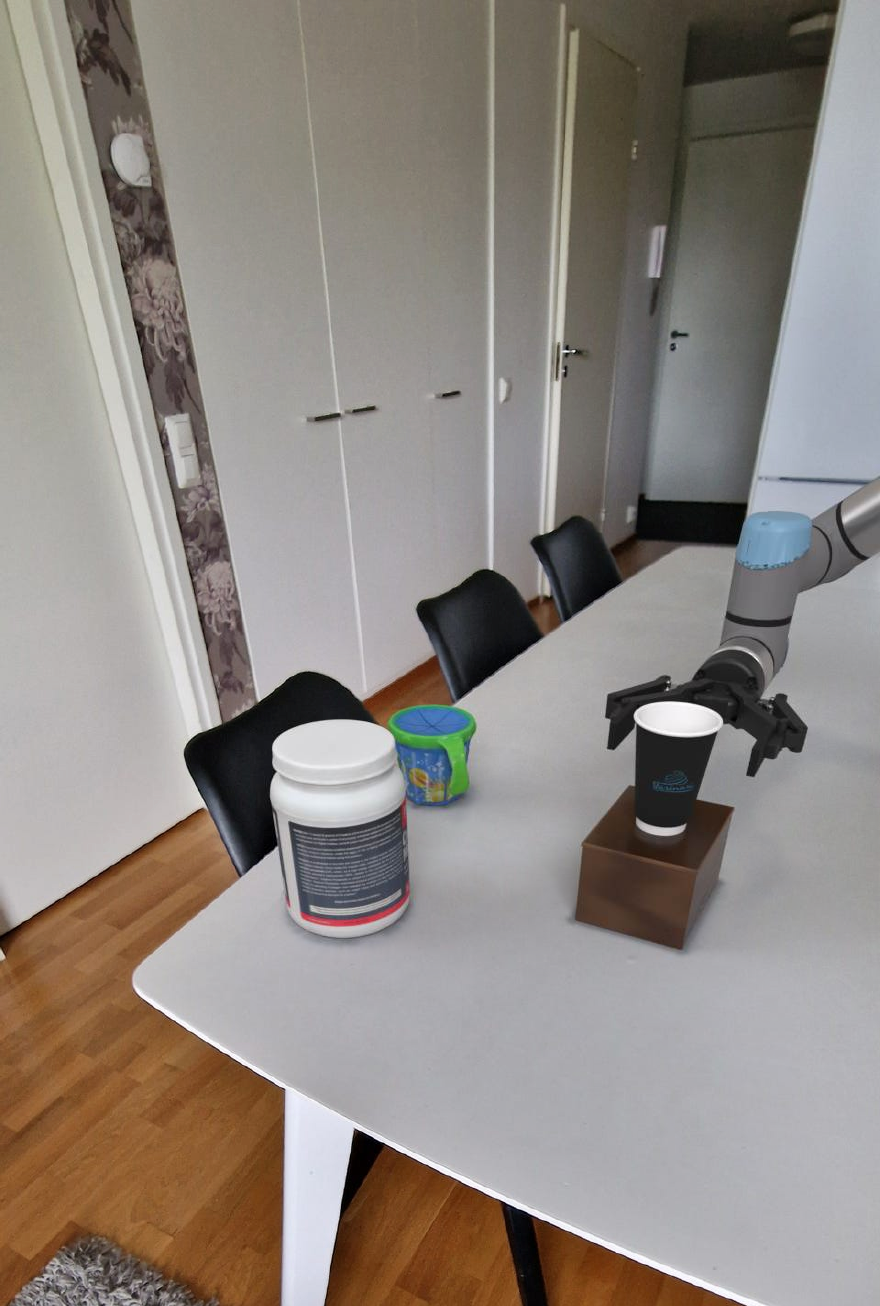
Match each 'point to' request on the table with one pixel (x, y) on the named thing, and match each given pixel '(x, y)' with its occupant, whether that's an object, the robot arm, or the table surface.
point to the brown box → (651, 872)
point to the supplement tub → (341, 827)
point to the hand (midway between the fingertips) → (680, 749)
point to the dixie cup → (671, 763)
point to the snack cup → (433, 751)
